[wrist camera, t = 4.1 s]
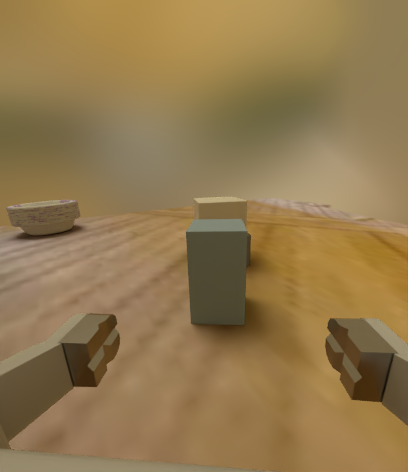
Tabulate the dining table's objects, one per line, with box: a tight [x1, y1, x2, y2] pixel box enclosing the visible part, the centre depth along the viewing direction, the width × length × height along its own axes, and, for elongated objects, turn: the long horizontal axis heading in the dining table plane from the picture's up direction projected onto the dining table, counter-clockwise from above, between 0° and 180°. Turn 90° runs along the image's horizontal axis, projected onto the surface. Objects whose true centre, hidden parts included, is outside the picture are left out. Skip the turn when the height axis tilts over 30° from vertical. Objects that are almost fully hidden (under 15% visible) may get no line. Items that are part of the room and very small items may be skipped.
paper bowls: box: [6, 200, 80, 235], centre depth 56 cm, size 15×15×8 cm
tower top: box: [193, 197, 247, 227], centre depth 33 cm, size 7×7×5 cm
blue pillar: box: [186, 219, 247, 325], centre depth 21 cm, size 5×5×9 cm
